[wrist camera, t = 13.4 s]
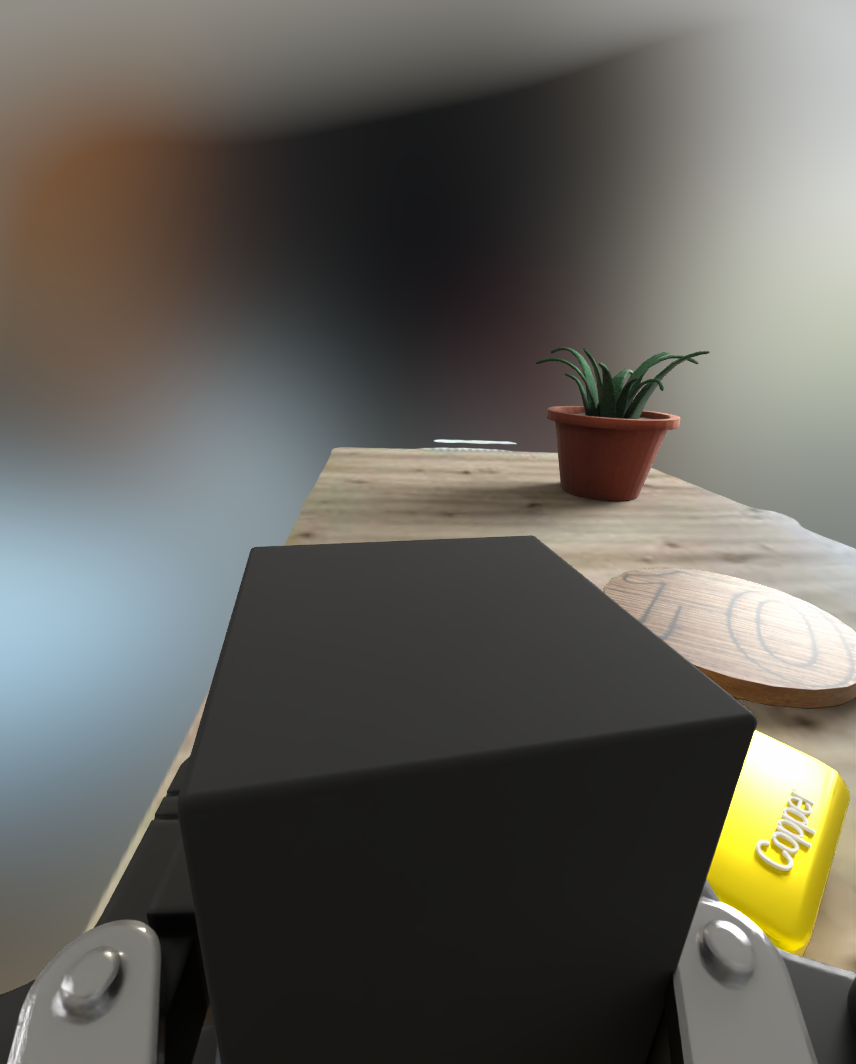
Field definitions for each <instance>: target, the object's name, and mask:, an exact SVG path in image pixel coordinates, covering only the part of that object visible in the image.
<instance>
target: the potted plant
mask: <svg viewBox="0 0 856 1064" xmlns="http://www.w3.org/2000/svg"><path fill="white" fill-rule="evenodd" d="M559 350H568V351H570V352H571V353H572V354H574V356H575V357H577V359H578V361H579V362H580V365H581V366H582V368H583V373H584V376H583V374H582V373H581V372H580V370H579V369H578V368H577V367H576V366H574V365H573V364H571V363H570V362H568V361H566V360H563V359H559V358H547V359H543V360H540V361H538V362H537V363H536V364H539V363H543V362H547V361H560V362H563V363H566V364H568V365H569V366H571V367H572V368H573V369H575V370H576V371H577V372H578V374H579V375H580V376H581V377H582V379H583V380H584V382H585V385H586V390H587V397H586V393H585V391H584V388H583V386H582V384H581V383H580V381H579V380H578V378H576V377H575V376H573V375H571V374H566V373H565V375H566V376H569V377H571V378H572V379H574V380H575V381H576V383H577V384H578V386H579V389H580V392H581V395H582V399H583V404H584V406H557V407H550V408H548V410H547V418H548V419H550V420H553V421H555V422H556V434H557V445H558V458H559V469H560V481H561V488H562V489H563V490H564V491H566V492H568V493H570V494H573V495H576V496H580V497H584V498H590V499H596V500H606V501H626V500H632V499H635V498H637V497H638V496H639V493H640V491H641V489H642V487H643V484H644V482H645V480H646V478H647V475H648V473H649V471H650V468H651V466H652V464H653V461H654V459H655V457H656V455H657V452H658V450H659V448H660V446H661V443H662V441H663V439H664V437H665V434H666V432H667V430H673V429H677V428H679V423H680V417H678V416H675V415H671V414H666V413H660V412H653V411H645V410H643V408H644V406H645V404H646V402H647V400H648V398H649V397H650V395H651V394H652V393H653V391H654V390H655V388H656V387H657V385H658V384H659V387H660V389H661V390H662V391H663V385H662V383H661V382H660V381H661V380H662V379H663V377H664V376H665V375H666V374H667V373H668V372H669V371H671V370H672V369H673V368H674V367H675V366H676V365H677V364H679V363H681V362H683V361H685V360H688V361H690V362H693V363H695V364H698V362H697V361H695V360H694V359H691V357H694V356H698V355H701V354H707V353H709V351H700V352H696V353H693V354H689V355H686V356H679V355H672V356H671V355H670V356H666V357H663V358H660V357H662V356H664V355H667V354H669V352H662V353H660V354H657V355H654V356H652V357H651V358H649V359H648V360H646V361H645V362H643V363H642V364H641V366H640V367H639V368H638V369H637V370H636V371H635V372H634V373H633V371H632V370H623V371H621V372H620V373H618V374H617V375H616V376H615V377H614V378H613V379H612V378H611V375H610V372H609V370H608V368H607V367H606V366H605V365H604V364H603V363H599V366H600V367H601V368H602V372H603V381H602V379H601V376H600V372H599V369H598V366H597V364H596V362H595V360H594V358H593V357H592V356H591V354H590V353H589V352H588V351H587V350H586V349H584V351H585V353H586V355H587V356H588V358H589V359H590V361H591V363H592V366H593V368H594V371H595V375H596V380H597V389H598V395H597V389H596V385H595V382H594V379H593V376H592V372H591V370H590V367H589V366H588V364H587V362H586V361H585V359H584V358H583V356H581V355H580V354H579V353H578V352H576V351H575V350H573V349H571V348H567V347H561V348H557V349H555V350H553V351H551V353H554V352H556V351H559ZM658 358H659V359H658ZM669 358H679V359H678V360H676V361H674V362H672V363H671V364H670V365H669V366H667V367H666V368H665V369H664V370H663V371H662V372H660V374H658V375H657V376H656V377H655V378H654V379H649V380H647V381H644V382H642V383H640V382H641V380H642V377H643V376H644V374H645V373H646V371H647V370H648V369H649V368H650V367H651V366H653V365H655V364H657V363H658V362H660V361H663V360H666V359H669ZM628 372H629V373H630V374H631V376H630V378H629V379H628V381H627V383H626V384H625V386H624V387H623V389H622V386H623V383H624V380H625V377H626V376H627V374H628ZM646 383H648V384H647V385H645V386H644V387H643V388H642V390H641V391H640V392H639V393H638V394H637V396H636V397H635V395H636V393H637V392H638V390H639V389H640V388H641V387H642V386H643V385H644V384H646ZM621 389H622V390H621ZM634 397H635V399H634V400H633V398H634ZM632 401H633V402H632Z"/></svg>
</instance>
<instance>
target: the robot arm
mask: <svg viewBox="0 0 856 1064" xmlns="http://www.w3.org/2000/svg"><path fill="white" fill-rule="evenodd" d="M189 759H190V757H189V758H188V759H187V760H185V761H184V762H183V763H182V764H181V766H180V768H179V770H178V771H177V773H176V775H175V777H174V779H173V781H172V783H171V785H170V787H169V789H168V790H167V795H166V797H164V798H163V800H162V802H161V804H160V806H159V808H158V809H157V811H156V813H155V818H154V820H152V821H151V823H150V825H149V827H148V828H147V830H146V832H145V834H144V836H143V838H142V840H141V842H140V844H139V846H138V847H137V849H136V851H135V853H134V855H133V857H132V859H131V861H130V863H129V865H128V866H127V868H126V870H125V872H124V874H123V876H122V878H121V880H120V882H119V884H118V885H117V887H116V889H115V891H114V893H113V895H112V897H111V899H110V901H109V903H108V904H107V906H106V908H105V910H104V912H103V914H102V916H101V917H100V919H99V921H98V922H97V924H96V925H95V927H94V928H93V929H91V930H89V931H87V932H86V933H84V934H82V935H80V936H79V937H78V938H76V939H75V940H73V941H72V942H71V943H69V944H68V945H67V946H66V947H65V948H63V950H61V951H60V952H59V953H58V954H57V955H56V956H55V957H54V958H53V959H52V960H51V961H50V962H49V963H48V964H47V965H46V967H45V968H44V969H43V971H42V972H41V973H40V974H39V976H38V977H37V979H35V980H33V981H31V982H29V983H28V984H26V985H23V986H21V987H19V988H16V989H14V990H12V991H9V992H7V993H4V994H1V995H0V1064H192V1062H193V1059H194V1055H195V1052H196V1048H197V1045H198V1041H199V1038H200V1034H201V1031H202V1027H203V1026H213V1025H214V1021H213V1015H212V1010H211V1004H210V998H209V992H208V986H207V981H206V975H205V969H204V963H203V957H202V952H201V946H200V940H199V934H198V928H197V923H196V917H195V911H194V905H193V899H192V894H191V888H190V882H189V876H188V870H187V865H186V859H185V853H184V847H183V841H182V836H181V830H180V824H179V818H178V812H177V807H176V803H177V800H178V796H179V793H180V790H181V786H182V783H183V779H184V776H185V773H186V769H187V766H188V762H189ZM664 1004H665V1006H664V1009H663V1012H662V1015H661V1018H660V1021H659V1024H658V1027H657V1031H656V1034H655V1037H654V1040H653V1043H652V1046H651V1049H650V1052H649V1055H648V1058H647V1061H646V1064H856V973H853V972H850V971H847V970H843V969H840V968H837V967H833V966H830V965H827V964H824V963H820V962H817V961H814V960H810V959H807V958H804V957H801V956H797V955H794V954H791V953H789V952H786V951H783V950H781V949H779V948H777V947H775V946H774V945H773V943H772V942H771V941H770V939H769V938H768V937H767V936H766V935H765V933H764V932H763V931H762V930H761V929H760V928H759V927H758V926H757V925H755V924H754V923H753V922H752V921H751V920H750V919H748V918H747V917H746V916H745V915H743V914H742V913H740V912H739V911H737V910H736V909H734V908H732V907H730V906H728V905H726V904H724V903H722V902H721V901H720V900H719V898H718V897H717V895H716V894H715V892H714V891H713V889H712V887H711V886H710V884H709V882H708V881H707V879H706V881H705V884H704V887H703V891H702V894H701V897H700V900H699V903H698V906H697V909H696V912H695V915H694V918H693V921H692V924H691V927H690V930H689V933H688V936H687V939H686V942H685V945H684V948H683V951H682V954H681V957H680V961H679V964H678V966H677V968H676V969H675V970H673V971H672V973H671V976H670V979H669V982H668V985H667V988H666V991H665V995H664Z"/></svg>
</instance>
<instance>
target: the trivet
mask: <svg viewBox="0 0 856 1064" xmlns="http://www.w3.org/2000/svg"><path fill="white" fill-rule="evenodd" d="M604 593H605V594H606V595H608V596H609V597H610V598H611V599H613V600H614V601H615V602H616V603H618V604H619V605H620V606H621V607H622V608H624V609H625V610H626V611H627V612H629V613H630V614H631V615H632V616H634V617H635V618H636V619H637V620H639V621H640V622H641V623H642V624H643V625H645V626H646V627H647V628H648V629H650V630H651V631H652V632H653V633H655V634H656V635H657V636H658V637H660V638H661V639H662V640H663V641H664V642H666V643H667V644H668V645H669V646H671V647H672V648H673V649H674V650H676V651H677V652H678V653H679V654H681V655H682V656H683V657H684V658H685V659H687V660H688V661H689V662H690V663H692V664H693V665H694V666H695V667H697V668H698V669H699V670H700V671H702V672H703V673H704V674H705V675H706V676H708V677H709V678H710V679H711V680H713V681H714V682H715V683H716V684H718V685H719V686H720V687H721V688H723V689H724V690H725V691H726V692H727V693H729V694H730V695H731V696H732V697H736V698H740V699H745V700H749V701H754V702H758V703H762V704H767V705H776V706H788V707H799V708H816V707H826V706H835V705H841V704H843V703H846V702H848V701H850V700H852V699H854V698H856V632H855V631H854V630H852V629H851V628H849V627H848V626H847V625H845V624H844V623H843V622H841V621H840V620H838V619H837V618H836V617H834V616H832V615H830V614H829V613H827V612H825V611H823V610H821V609H819V608H817V607H815V606H814V605H812V604H810V603H808V602H806V601H803V600H801V599H798V598H796V597H793V596H791V595H789V594H786V593H784V592H781V591H779V590H776V589H773V588H770V587H767V586H763V585H760V584H757V583H754V582H751V581H747V580H743V579H739V578H735V577H731V576H726V575H722V574H717V573H711V572H705V571H698V570H692V569H677V568H648V569H640V570H635V571H629V572H625V573H623V574H621V575H619V576H616V577H614V578H612V579H611V580H610V582H609V583H608V584H607V585H606V586H605V587H604Z"/></svg>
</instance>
